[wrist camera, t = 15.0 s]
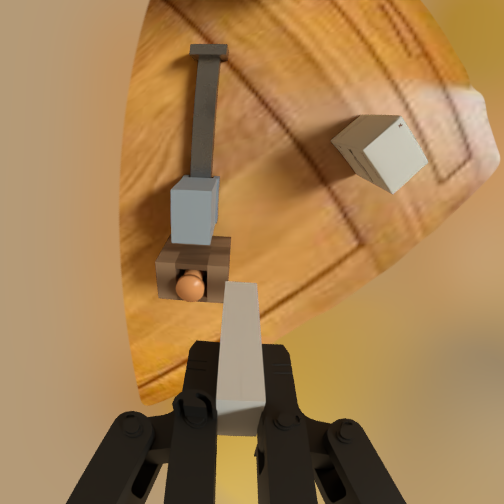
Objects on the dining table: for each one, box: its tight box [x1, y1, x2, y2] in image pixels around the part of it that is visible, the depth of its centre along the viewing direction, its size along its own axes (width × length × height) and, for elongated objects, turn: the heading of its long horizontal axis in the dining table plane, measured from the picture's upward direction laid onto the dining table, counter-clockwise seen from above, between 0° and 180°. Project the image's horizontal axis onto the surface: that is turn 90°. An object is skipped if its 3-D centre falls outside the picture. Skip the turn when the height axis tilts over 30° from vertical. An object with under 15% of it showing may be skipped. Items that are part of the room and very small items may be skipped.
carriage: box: [171, 175, 220, 245], centre depth 38 cm, size 7×5×10 cm
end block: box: [155, 235, 231, 303], centre depth 43 cm, size 6×10×10 cm, turn 85°
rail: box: [189, 44, 229, 178], centre depth 37 cm, size 30×5×4 cm, turn 175°
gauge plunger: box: [176, 269, 205, 302], centre depth 39 cm, size 4×4×6 cm
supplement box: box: [331, 115, 428, 194], centre depth 34 cm, size 7×7×13 cm
